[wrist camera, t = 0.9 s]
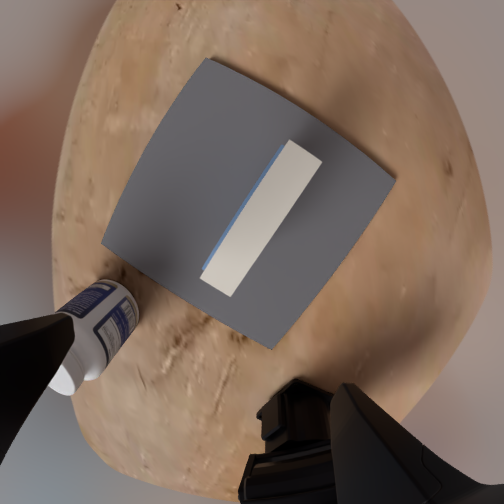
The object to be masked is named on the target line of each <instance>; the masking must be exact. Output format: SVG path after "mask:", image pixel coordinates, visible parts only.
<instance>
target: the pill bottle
mask: <svg viewBox="0 0 504 504" xmlns="http://www.w3.org/2000/svg"><path fill="white" fill-rule="evenodd" d="M57 313H65V314H68V315H70V316H71V317H72V318H73V324H74V331H75V340H74V343H73V345H72V346H71V348H70V350H69V352H68V353H67V355H66V357H65V359H64V360H63V362H62V364H61V366H60V368H59V369H58V371H57V373H56V374H55V376H54V377H53V379H52V380H51V382H50V383H49V385H48V386H50V387H51V388H52V389H54V390H55V391H57V392H59V393H61V394H63V395H72V394H74V393H75V392H76V391H77V389H78V388H79V387H80V385H81V384H82V382H83V381H84V380H93V379H96V378H97V377H99V376H100V375H101V374H102V372H103V371H104V370H105V368H106V367H107V366H108V364H109V363H110V361H111V360H112V359H113V357H114V356H115V355H116V353H117V352H118V351H119V349H120V348H121V347H122V345H123V344H124V343H125V341H126V340H127V339H128V337H129V336H130V335H131V333H132V332H133V331H134V329H135V328H136V326H137V324H138V320H139V310H138V306H137V303H136V301H135V299H134V297H133V296H132V295H131V293H130V292H129V291H128V290H127V289H126V288H125V287H124V286H122V285H121V284H119V283H117V282H115V281H112V280H107V279H103V280H99V281H97V282H95V283H93V284H92V285H90V286H89V287H88V288H86V289H85V290H84V291H82V292H81V293H79V294H78V295H77V296H75V297H74V298H73V299H72V300H70V301H69V302H68V303H66V304H65V305H64V306H63V307H61V308H60V309H59V310H58V311H56V312H55V313H54V314H57Z"/></svg>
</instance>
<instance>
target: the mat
mask: <svg viewBox="0 0 504 504" xmlns="http://www.w3.org/2000/svg"><path fill="white" fill-rule="evenodd" d="M289 140H291V141H293V142H294V143H296V144H297V145H299V146H300V147H302V148H303V149H305V150H306V151H307V152H309V153H310V154H312V155H313V156H315V157H316V158H318V159H319V160H320V161H322V163H321V165H320V166H319V168H318V169H317V171H316V172H315V174H314V175H313V177H312V178H311V180H310V181H309V183H308V184H307V186H306V187H305V189H304V190H303V192H302V193H301V194H300V196H299V197H298V199H297V200H296V202H295V203H294V205H293V206H292V208H291V209H290V211H289V212H288V214H287V215H286V217H285V218H284V220H283V221H282V222H281V224H280V225H279V227H278V228H277V230H276V231H275V233H274V234H273V236H272V237H271V239H270V240H269V242H268V243H267V244H266V246H265V247H264V249H263V250H262V252H261V253H260V255H259V256H258V258H257V259H256V261H255V262H254V263H253V265H252V266H251V268H250V269H249V271H248V272H247V274H246V275H245V277H244V278H243V279H242V281H241V282H240V284H239V285H238V287H237V288H236V290H235V291H234V293H233V294H232V295H231V297H229V296H228V295H226V294H224V293H223V292H221V291H219V290H218V289H216V288H215V287H213V286H211V285H210V284H208V283H206V282H205V281H203V280H202V279H200V277H201V275H202V273H203V272H204V270H202V267H203V265H204V264H205V262H206V260H207V259H208V257H209V256H210V254H211V252H212V251H213V249H214V248H215V246H216V244H217V243H218V241H219V240H220V238H221V236H222V235H223V233H224V232H225V230H226V228H227V227H228V225H229V224H230V222H231V220H232V219H233V217H234V216H235V214H236V213H237V211H238V210H239V208H240V206H241V205H242V203H243V202H244V200H245V199H246V197H247V196H248V194H249V193H250V191H251V189H252V188H253V186H254V185H255V183H256V182H257V180H258V179H259V177H260V176H261V174H262V173H263V171H264V170H265V168H266V167H267V165H268V164H269V162H270V161H271V159H272V158H273V156H274V155H275V153H276V152H277V150H278V149H279V147H280V146H281V145H284V146H285V145H286V144H287V142H288V141H289ZM395 182H396V180H394V179H393V178H392V177H391V176H390V175H389V174H388V173H387V172H385V171H384V170H383V169H382V168H381V167H380V166H378V165H377V164H376V163H375V162H374V161H372V160H371V159H370V158H369V157H368V156H366V155H365V154H364V153H363V152H361V151H360V150H359V149H358V148H356V147H355V146H354V145H352V144H351V143H350V142H348V141H347V140H346V139H345V138H343V137H342V136H340V135H339V134H338V133H336V132H335V131H334V130H332V129H331V128H329V127H328V126H327V125H325V124H324V123H322V122H321V121H319V120H318V119H316V118H315V117H313V116H312V115H310V114H309V113H307V112H306V111H304V110H303V109H301V108H300V107H298V106H296V105H295V104H293V103H292V102H290V101H288V100H287V99H285V98H283V97H282V96H280V95H278V94H277V93H275V92H273V91H271V90H270V89H268V88H266V87H264V86H263V85H261V84H259V83H257V82H255V81H253V80H252V79H250V78H248V77H246V76H244V75H242V74H240V73H238V72H236V71H234V70H232V69H230V68H228V67H226V66H223V65H221V64H219V63H217V62H215V61H213V60H210V59H208V58H205V59H204V60H203V62H202V63H201V64H200V66H199V67H198V68H197V70H196V71H195V72H194V74H193V75H192V76H191V78H190V79H189V80H188V82H187V83H186V85H185V86H184V88H183V89H182V90H181V92H180V93H179V95H178V96H177V98H176V99H175V101H174V102H173V104H172V105H171V107H170V108H169V110H168V111H167V113H166V115H165V116H164V118H163V119H162V121H161V123H160V124H159V126H158V128H157V129H156V131H155V133H154V134H153V136H152V138H151V139H150V141H149V143H148V145H147V146H146V148H145V150H144V152H143V154H142V155H141V157H140V159H139V161H138V163H137V165H136V167H135V169H134V171H133V173H132V175H131V177H130V179H129V181H128V183H127V185H126V187H125V189H124V191H123V193H122V195H121V197H120V199H119V202H118V204H117V206H116V208H115V211H114V213H113V215H112V217H111V220H110V222H109V225H108V227H107V229H106V232H105V234H104V237H103V239H102V242H101V244H102V245H104V246H105V247H107V248H108V249H109V250H111V251H112V252H113V253H115V254H116V255H118V256H119V257H120V258H122V259H123V260H125V261H126V262H128V263H129V264H130V265H132V266H133V267H135V268H136V269H138V270H139V271H141V272H142V273H144V274H145V275H147V276H148V277H149V278H151V279H152V280H154V281H156V282H157V283H159V284H160V285H162V286H163V287H165V288H166V289H168V290H169V291H171V292H172V293H174V294H176V295H177V296H179V297H180V298H182V299H184V300H185V301H187V302H188V303H190V304H192V305H193V306H195V307H197V308H198V309H200V310H202V311H203V312H205V313H207V314H208V315H210V316H212V317H213V318H215V319H217V320H218V321H220V322H222V323H224V324H225V325H227V326H229V327H231V328H232V329H234V330H236V331H238V332H239V333H241V334H243V335H245V336H247V337H248V338H250V339H252V340H254V341H256V342H258V343H260V344H261V345H263V346H265V347H267V348H269V349H271V350H272V349H273V348H274V346H275V345H276V344H277V343H278V342H279V341H280V339H281V338H282V337H283V336H284V335H285V334H286V332H287V331H288V330H289V329H290V328H291V326H292V325H293V324H294V323H295V322H296V320H297V319H298V318H299V317H300V315H301V314H302V313H303V312H304V310H305V309H306V308H307V307H308V305H309V304H310V303H311V302H312V300H313V299H314V298H315V297H316V295H317V294H318V293H319V292H320V290H321V289H322V288H323V286H324V285H325V284H326V282H327V281H328V280H329V278H330V277H331V276H332V274H333V273H334V272H335V270H336V269H337V268H338V266H339V265H340V264H341V262H342V261H343V260H344V258H345V257H346V255H347V254H348V253H349V251H350V250H351V248H352V247H353V246H354V244H355V243H356V241H357V240H358V239H359V237H360V236H361V234H362V233H363V231H364V230H365V228H366V227H367V225H368V224H369V223H370V221H371V220H372V218H373V217H374V215H375V214H376V212H377V210H378V209H379V207H380V206H381V204H382V203H383V201H384V200H385V198H386V197H387V195H388V193H389V192H390V190H391V189H392V187H393V185H394V184H395Z"/></svg>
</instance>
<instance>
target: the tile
mask: <svg viewBox="0 0 504 504" xmlns="http://www.w3.org/2000/svg"><path fill="white" fill-rule="evenodd" d="M321 163H322V161H320V160H319V159H318V158H316V157H315V156H313V155H312V154H310V153H309V152H307V151H306V150H305V149H303V148H302V147H300V146H299V145H297V144H296V143H294V142H293V141H291V140H289V141H288V142H287V144H286V145H285V146H284V145H281V146H280V147H279V149H278V150H277V152H276V153H275V155H274V156H273V158H272V159H271V161H270V162H269V164H268V165H267V167H266V168H265V170H264V171H263V173H262V174H261V176H260V177H259V179H258V180H257V182H256V183H255V185H254V186H253V188H252V189H251V191H250V193H249V194H248V196H247V197H246V199H245V200H244V202H243V203H242V205H241V206H240V208H239V210H238V211H237V213H236V214H235V216H234V217H233V219H232V220H231V222H230V224H229V225H228V227H227V228H226V230H225V232H224V233H223V235H222V236H221V238H220V240H219V241H218V243H217V244H216V246H215V248H214V249H213V251H212V252H211V254H210V256H209V257H208V259H207V260H206V262H205V264H204V265H203V267H202V270H204V272H203V273H202V275H201V277H200V279H202V280H203V281H205V282H206V283H208V284H210V285H211V286H213V287H215V288H216V289H218V290H219V291H221V292H223V293H224V294H226V295H228V296H229V297H231V295H232V294H233V293H234V291H235V290H236V288H237V287H238V285H239V284H240V282H241V281H242V279H243V278H244V277H245V275H246V274H247V272H248V271H249V269H250V268H251V266H252V265H253V263H254V262H255V261H256V259H257V258H258V256H259V255H260V253H261V252H262V250H263V249H264V247H265V246H266V244H267V243H268V242H269V240H270V239H271V237H272V236H273V234H274V233H275V231H276V230H277V228H278V227H279V225H280V224H281V222H282V221H283V220H284V218H285V217H286V215H287V214H288V212H289V211H290V209H291V208H292V206H293V205H294V203H295V202H296V200H297V199H298V197H299V196H300V194H301V193H302V192H303V190H304V189H305V187H306V186H307V184H308V183H309V181H310V180H311V178H312V177H313V175H314V174H315V172H316V171H317V169H318V168H319V166H320V165H321Z"/></svg>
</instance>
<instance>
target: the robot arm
mask: <svg viewBox="0 0 504 504" xmlns="http://www.w3.org/2000/svg"><path fill="white" fill-rule="evenodd" d="M74 340H75V331H74V324H73V318H72V317H71V316H70V315H68V314H65V313H57V314H52V315H48V316H43V317H39V318H33V319H29V320H24V321H19V322H15V323H9V324H5V325H0V465H1V463H2V461H3V459H4V457H5V454H6V453H7V451H8V449H9V448H10V446H11V444H12V442H13V440H14V439H15V437H16V435H17V433H18V432H19V430H20V428H21V427H22V425H23V423H24V421H25V420H26V418H27V417H28V415H29V414H30V412H31V410H32V409H33V407H34V406H35V404H36V402H37V401H38V399H39V398H40V396H41V395H42V393H43V392H44V390H45V389H46V387H47V386H48V385H49V383H50V382H51V380H52V379H53V377H54V376H55V374H56V373H57V371H58V369H59V368H60V366H61V364H62V362H63V360H64V359H65V357H66V355H67V353H68V352H69V350H70V348H71V346H72V345H73V343H74ZM294 384H297V385H294ZM256 418H257V419H259V420H261V421H262V432H261V437H262V440H264V441H265V453H263V454H250V455H249V459H248V462H247V464H246V467H245V470H244V474H243V477H242V480H241V483H240V486H239V489H238V494H239V495H238V499H239V501H240V503H241V504H504V484H498V485H486V484H481V483H478V482H476V481H474V480H473V479H471V478H470V477H468V476H466V475H465V474H463V473H462V472H460V471H459V470H457V469H456V468H454V467H452V466H451V465H450V464H448V463H447V462H445V461H443V460H442V459H441V458H440V457H438V456H437V455H436V454H435V453H433V452H432V451H431V450H430V449H428V448H427V447H426V446H425V445H422V443H421V442H420V441H419V440H418V439H416V438H415V437H414V436H413V435H412V434H411V433H409V432H408V431H407V430H406V429H405V428H403V427H402V426H401V425H400V424H399V423H398V422H397V421H396V420H394V419H393V418H392V417H391V416H390V415H389V414H387V413H386V412H385V411H384V410H383V409H382V408H381V407H380V406H378V405H377V404H376V403H375V402H374V401H373V400H372V399H370V398H369V397H368V396H367V395H366V394H365V393H364V392H363V391H362V390H360V389H359V388H358V387H357V386H356V385H355V384H353V383H341V384H340V386H339V387H338V389H337V391H336V393H335V395H333V394H331V393H329V392H326V391H324V390H321V389H319V388H317V387H314V386H312V385H310V384H308V383H305V382H303V381H301V380H299V379H294V380H292V381H291V382H290V383H289V384H288V385H287V386H286V387H285V388H284V389H283V390H281V391H280V392H279V393H278V394H276V395H275V396H274V397H273V398H272V399H271V400H270V401H268V402H267V403H266V404H265V405H264V406H263V407H262V409H261V410H260V411H259V412H257V416H256Z"/></svg>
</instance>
